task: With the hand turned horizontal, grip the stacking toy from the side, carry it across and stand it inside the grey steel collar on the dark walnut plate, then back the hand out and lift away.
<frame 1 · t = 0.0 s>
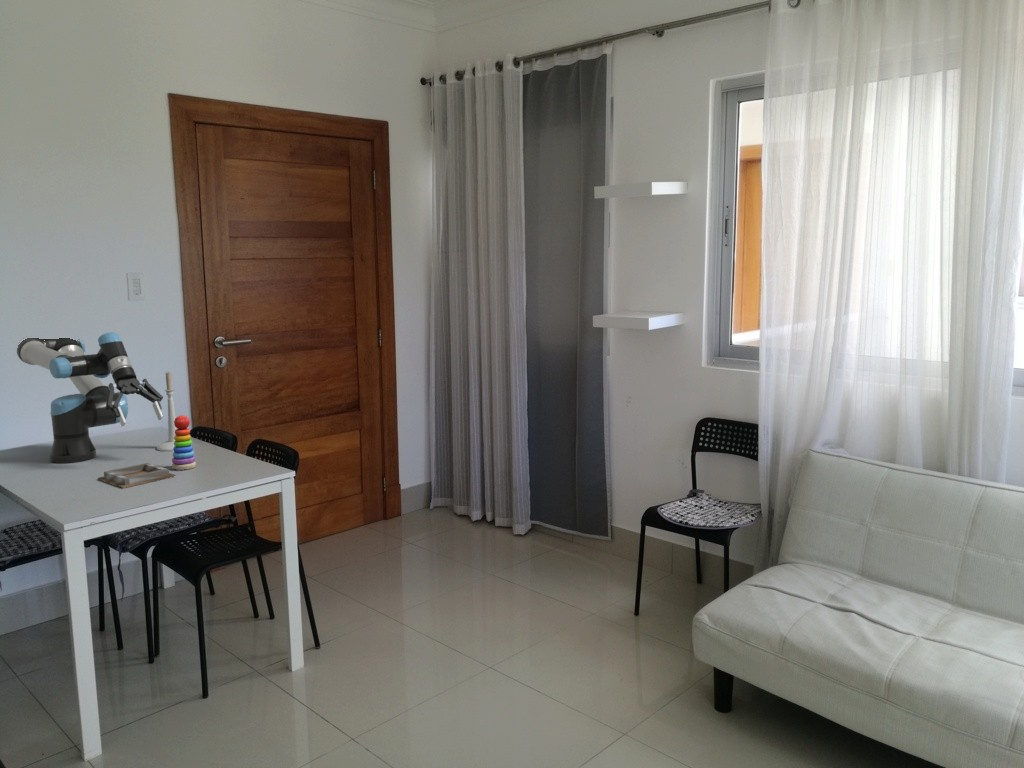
hand: (142, 421, 300), 15 cm above the table, tool tilted 35°, fingers open, 13 cm apart
stacking toy: (184, 468, 294), on the table
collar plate: (136, 478, 281), on the table
candlestick: (174, 448, 326), on the table
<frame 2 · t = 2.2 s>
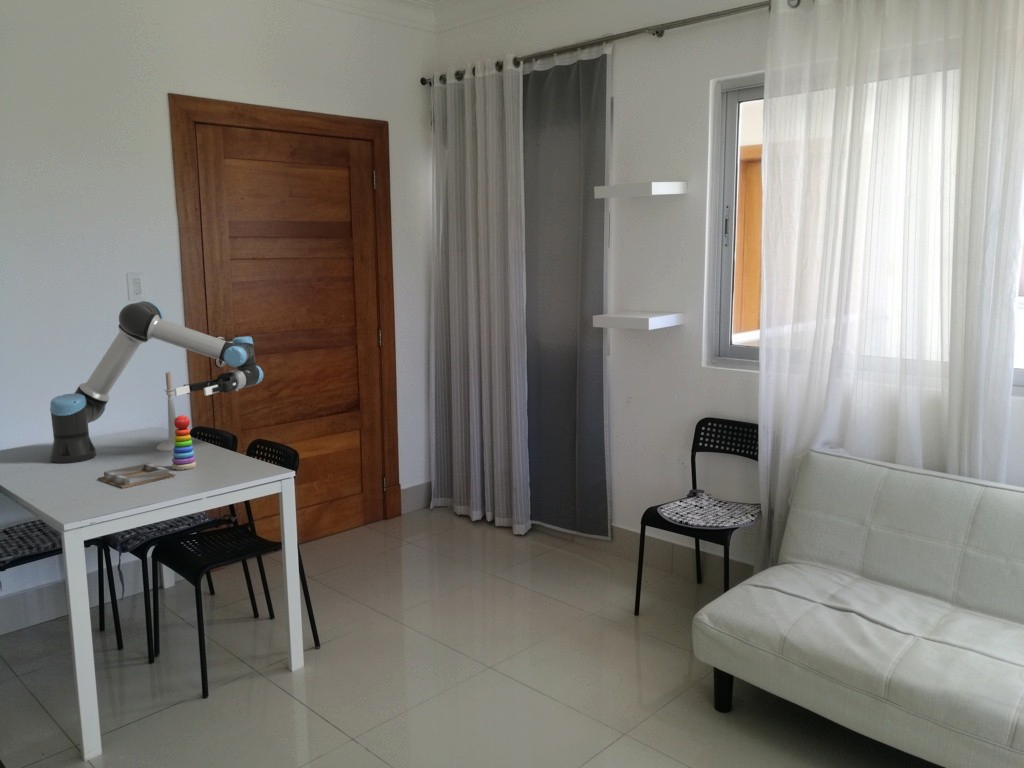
hand: (190, 392, 298), 26 cm above the table, tool horizontal, fingers open, 13 cm apart
nothing on the table moved.
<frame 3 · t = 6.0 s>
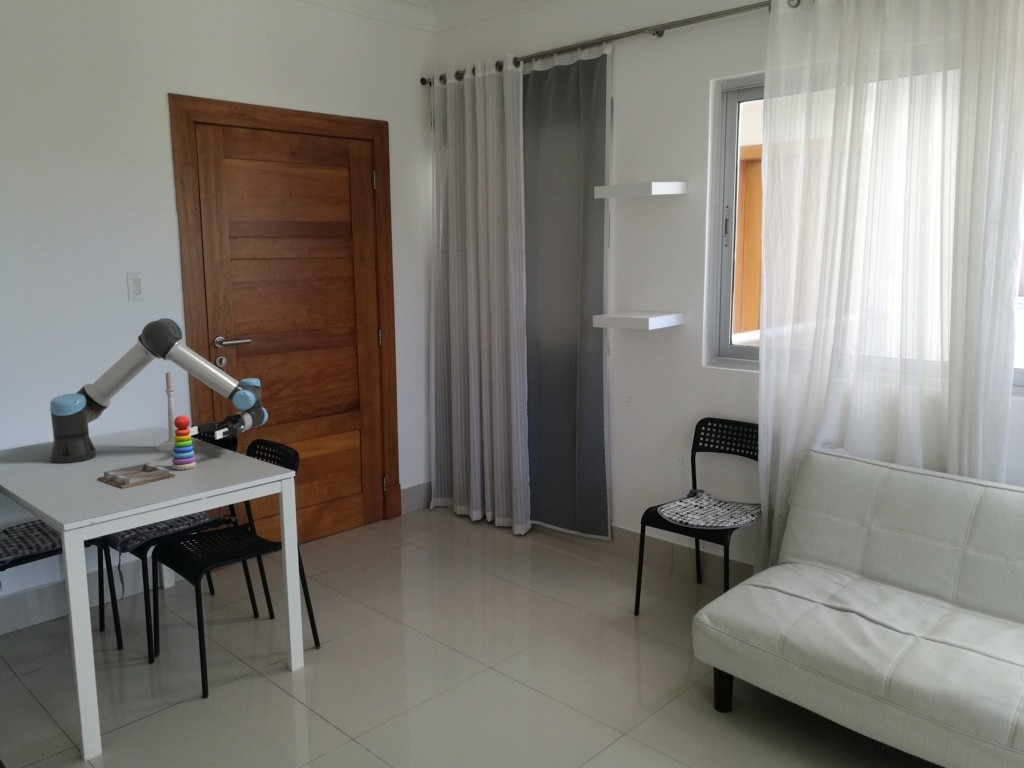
hand: (200, 434, 301), 10 cm above the table, tool horizontal, fingers open, 13 cm apart
nothing on the table moved.
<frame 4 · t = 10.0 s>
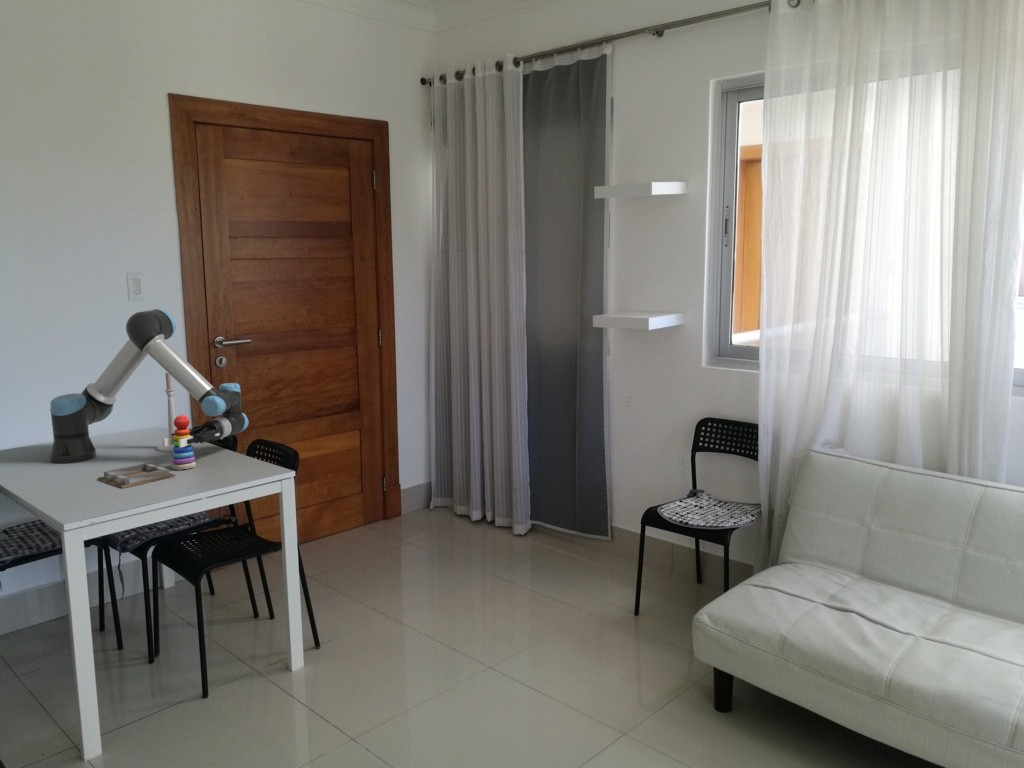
hand: (171, 443, 288), 10 cm above the table, tool horizontal, fingers closed on stacking toy, 6 cm apart
stacking toy: (184, 468, 294), on the table, touching gripper
everything else where it was.
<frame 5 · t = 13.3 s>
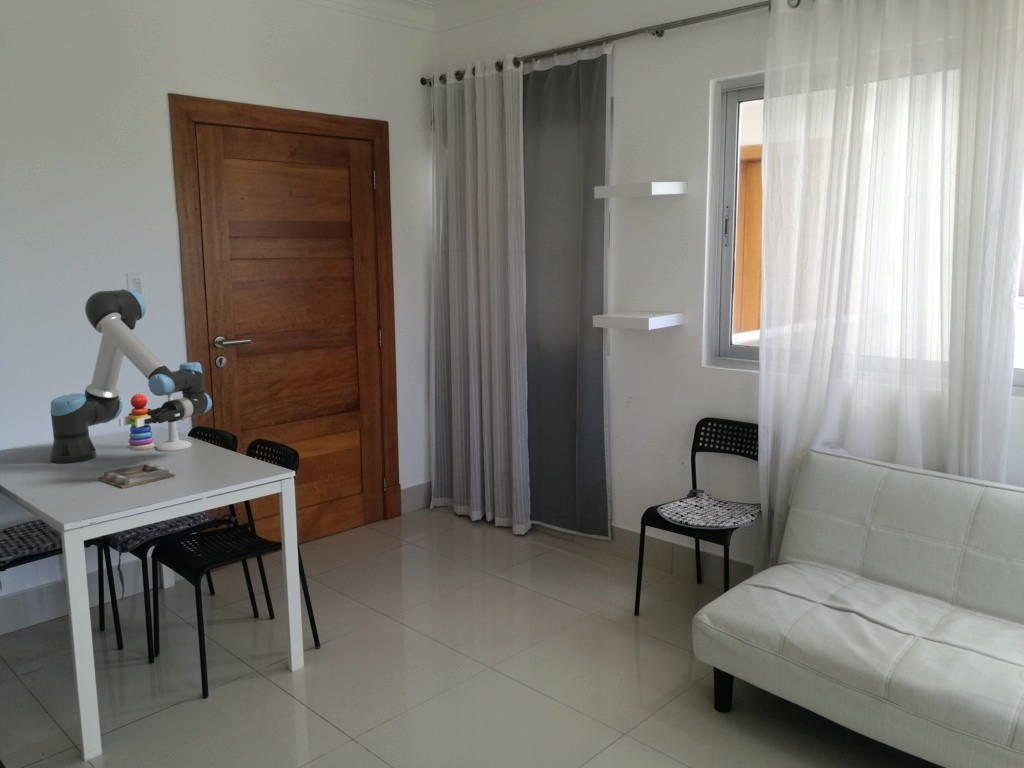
hand: (128, 422, 275), 20 cm above the table, tool horizontal, fingers closed on stacking toy, 6 cm apart
stacking toy: (141, 449, 281), point 9 cm above the table, touching gripper
everything else where it was.
when the fingers open (12 cm above the table, at t = 16.5 s): stacking toy drops 2 cm, resting on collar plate.
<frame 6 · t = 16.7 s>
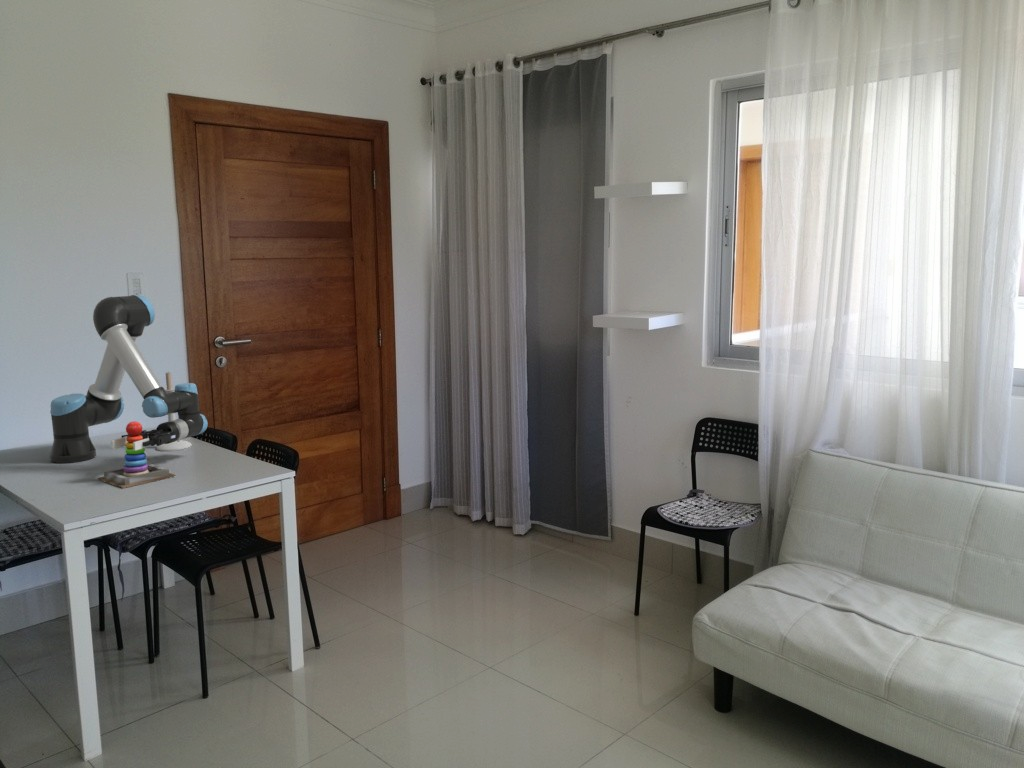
hand: (123, 445, 275), 12 cm above the table, tool horizontal, fingers open, 8 cm apart
stacking toy: (136, 476, 281), resting on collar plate
everything else where it was.
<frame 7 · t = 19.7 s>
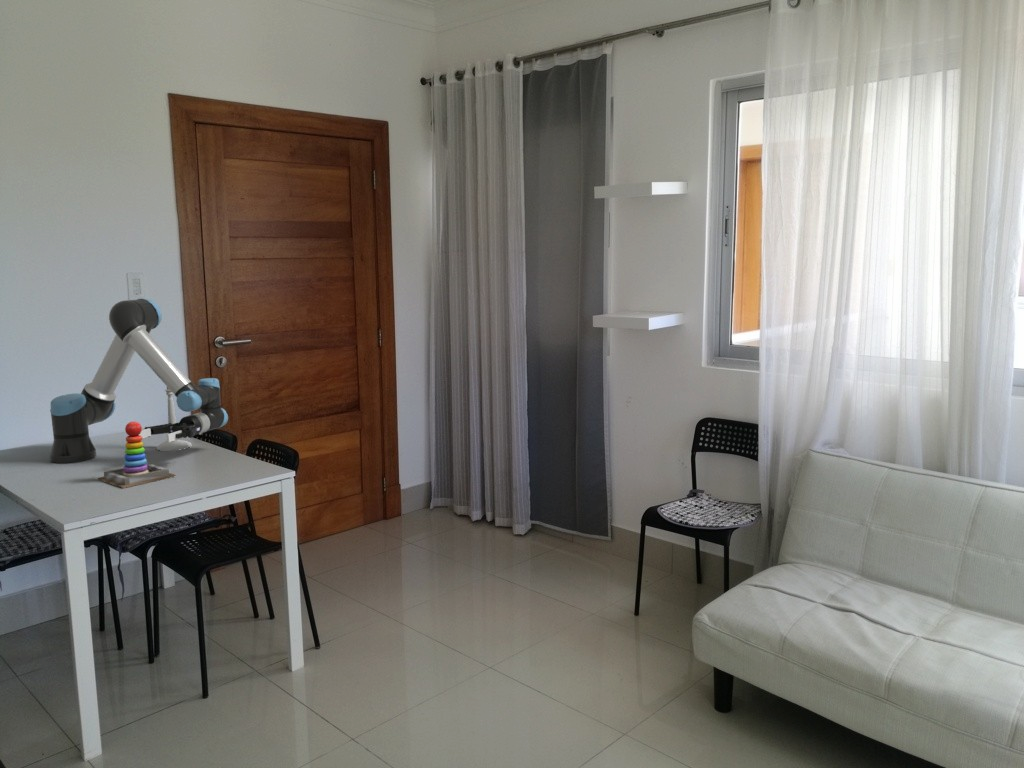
hand: (151, 437, 287), 12 cm above the table, tool horizontal, fingers open, 13 cm apart
nothing on the table moved.
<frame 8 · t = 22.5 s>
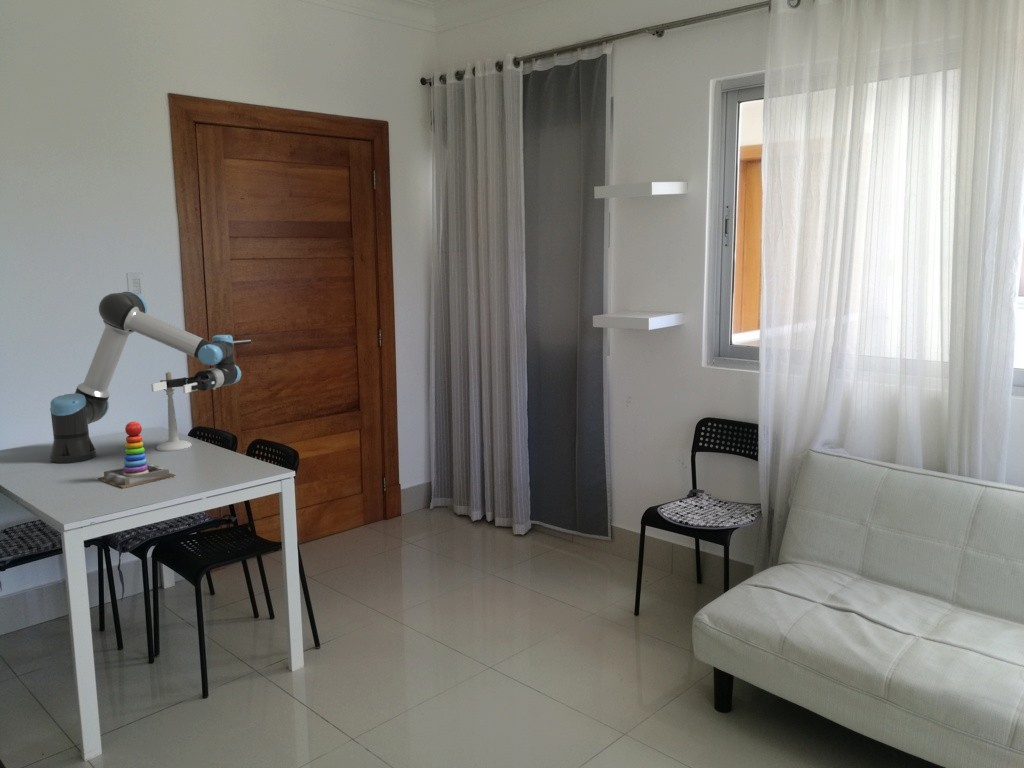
hand: (168, 388, 292), 28 cm above the table, tool horizontal, fingers open, 13 cm apart
nothing on the table moved.
at the end: stacking toy inside the target area on the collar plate (0.1 cm from its centre), point 0.4 cm above the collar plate's base; stacking toy tilted 0°; the gripper is holding nothing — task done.
